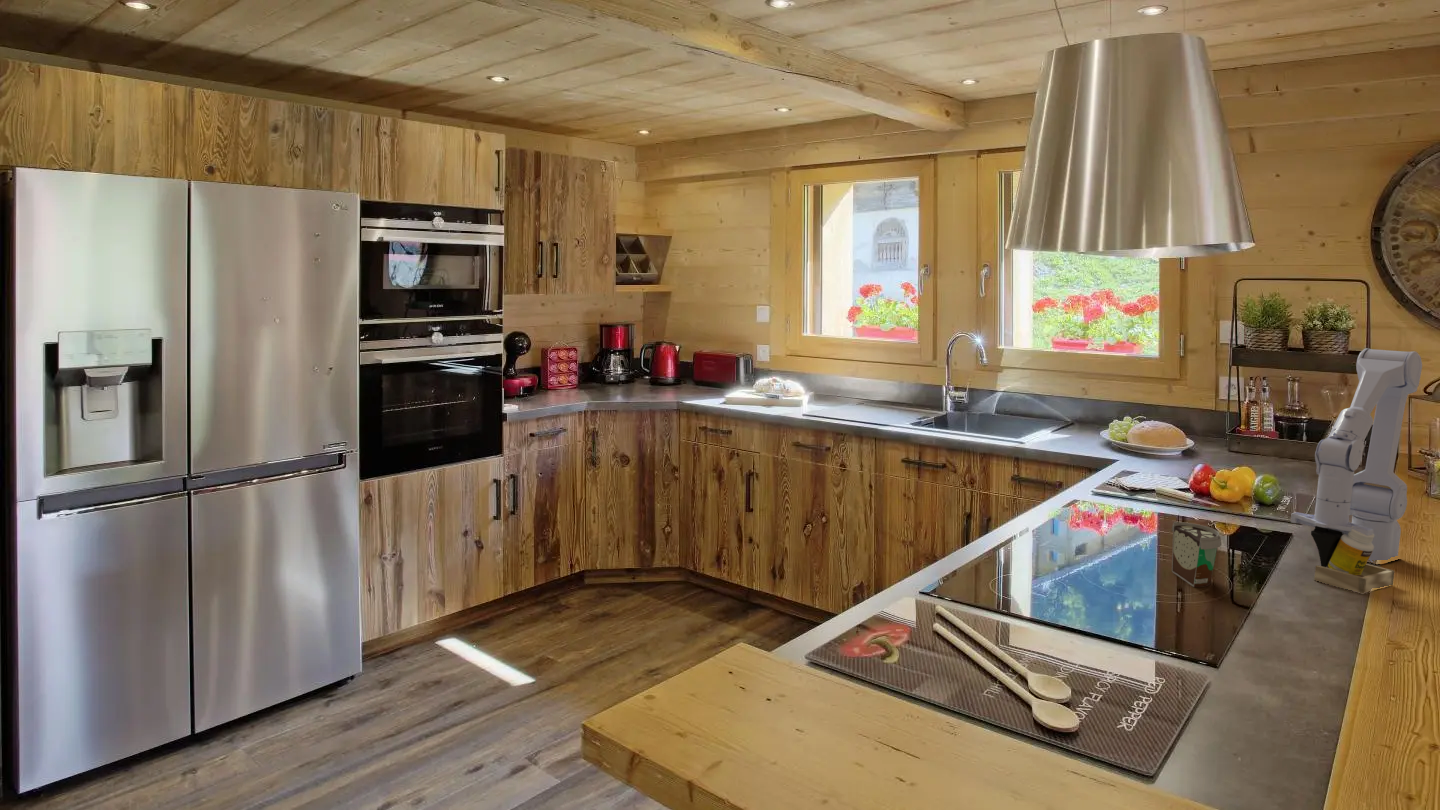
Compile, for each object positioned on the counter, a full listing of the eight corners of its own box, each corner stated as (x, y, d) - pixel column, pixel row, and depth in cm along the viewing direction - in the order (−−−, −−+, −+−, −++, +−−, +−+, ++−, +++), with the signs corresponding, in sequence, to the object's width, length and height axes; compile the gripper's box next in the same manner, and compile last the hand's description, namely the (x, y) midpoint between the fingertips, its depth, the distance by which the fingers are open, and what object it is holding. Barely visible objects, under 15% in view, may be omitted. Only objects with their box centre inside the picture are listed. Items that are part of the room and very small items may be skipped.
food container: (1230, 590, 179) (1235, 539, 177) (1197, 589, 179) (1202, 538, 177) (1199, 569, 191) (1203, 521, 189) (1168, 569, 191) (1172, 521, 190)
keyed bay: (1344, 572, 190) (1346, 558, 189) (1392, 585, 182) (1394, 570, 182) (1314, 580, 185) (1315, 565, 184) (1362, 594, 177) (1364, 579, 177)
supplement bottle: (1349, 586, 182) (1371, 541, 178) (1320, 571, 186) (1341, 526, 182) (1362, 580, 185) (1384, 536, 181) (1333, 565, 189) (1354, 521, 185)
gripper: (1284, 493, 190) (1278, 558, 192) (1361, 510, 178) (1353, 579, 180) (1305, 489, 193) (1298, 554, 195) (1382, 505, 181) (1374, 574, 183)
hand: (1326, 566), depth 188 cm, fingers closed
